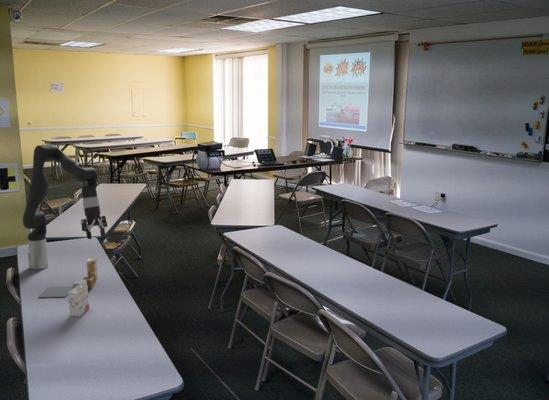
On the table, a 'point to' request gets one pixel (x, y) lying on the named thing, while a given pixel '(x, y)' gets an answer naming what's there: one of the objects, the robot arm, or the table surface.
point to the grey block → (77, 283)
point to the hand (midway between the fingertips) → (96, 237)
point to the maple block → (92, 269)
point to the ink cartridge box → (78, 299)
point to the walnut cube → (89, 282)
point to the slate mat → (56, 292)
